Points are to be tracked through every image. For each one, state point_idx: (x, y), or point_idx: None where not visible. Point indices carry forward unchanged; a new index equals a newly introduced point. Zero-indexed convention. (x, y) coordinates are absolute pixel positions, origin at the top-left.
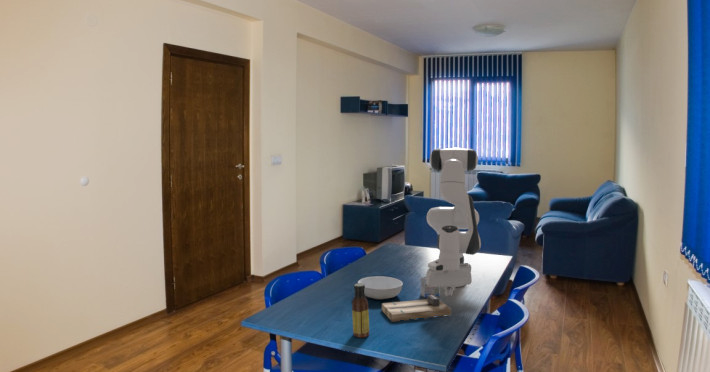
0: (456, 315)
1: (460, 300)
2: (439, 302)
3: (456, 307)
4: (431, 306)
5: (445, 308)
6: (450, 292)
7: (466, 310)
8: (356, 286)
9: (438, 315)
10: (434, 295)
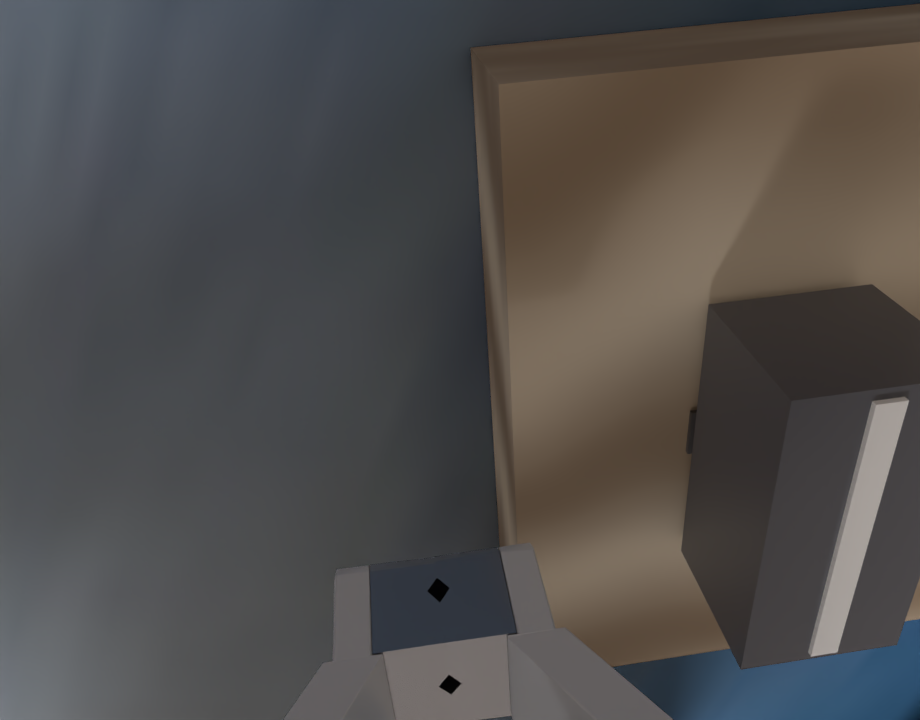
0: (335, 44)
1: (66, 717)
2: (742, 346)
3: (208, 469)
4: None
5: (637, 130)
6: (410, 638)
7: (28, 309)
8: None
9: (790, 22)
10: (766, 618)
